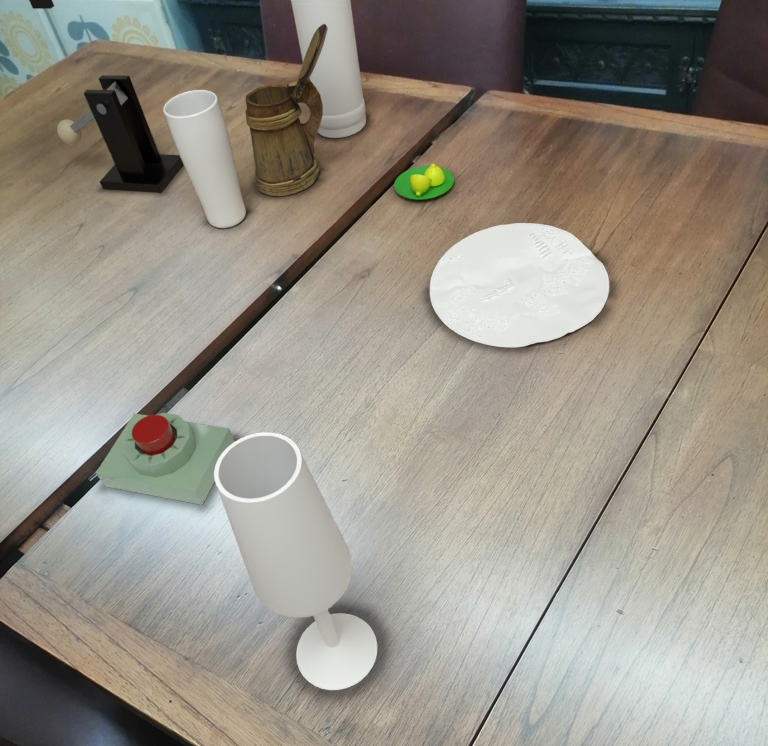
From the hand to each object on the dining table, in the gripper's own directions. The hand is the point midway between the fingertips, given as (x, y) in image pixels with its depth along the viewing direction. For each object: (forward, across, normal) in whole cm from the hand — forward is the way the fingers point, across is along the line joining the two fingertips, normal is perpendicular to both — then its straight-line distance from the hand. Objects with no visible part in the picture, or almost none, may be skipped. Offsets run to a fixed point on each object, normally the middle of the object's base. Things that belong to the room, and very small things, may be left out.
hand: (10, 32), depth 80 cm
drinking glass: (+23, +2, -20) cm, 31 cm away
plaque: (+23, -6, -61) cm, 66 cm away
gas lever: (+16, +10, +3) cm, 19 cm away
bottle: (+23, +27, -27) cm, 45 cm away
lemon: (+23, +13, -45) cm, 52 cm away
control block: (+23, -39, -34) cm, 56 cm away
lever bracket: (+23, +10, -2) cm, 25 cm away
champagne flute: (+23, -53, -57) cm, 81 cm away
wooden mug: (+23, +13, -27) cm, 38 cm away
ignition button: (+19, -39, -34) cm, 55 cm away
